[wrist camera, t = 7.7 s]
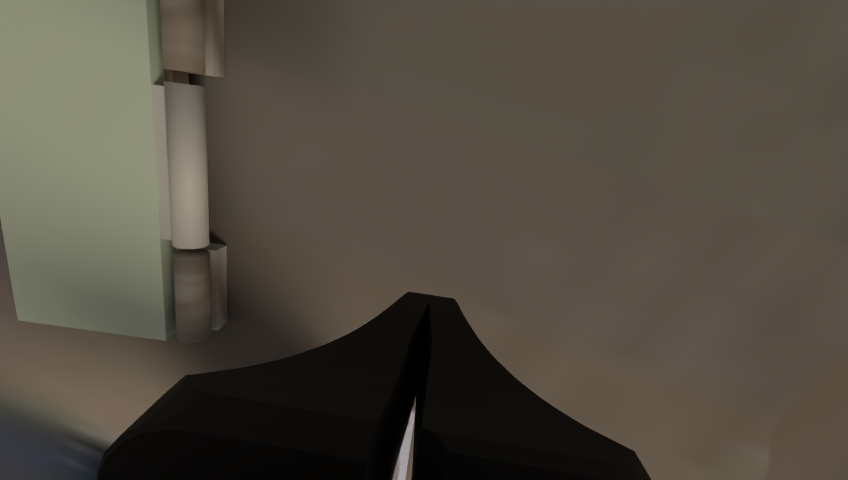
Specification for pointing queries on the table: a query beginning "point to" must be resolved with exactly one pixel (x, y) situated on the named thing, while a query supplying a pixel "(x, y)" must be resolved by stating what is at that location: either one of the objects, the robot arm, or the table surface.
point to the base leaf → (182, 54)
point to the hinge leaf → (97, 165)
